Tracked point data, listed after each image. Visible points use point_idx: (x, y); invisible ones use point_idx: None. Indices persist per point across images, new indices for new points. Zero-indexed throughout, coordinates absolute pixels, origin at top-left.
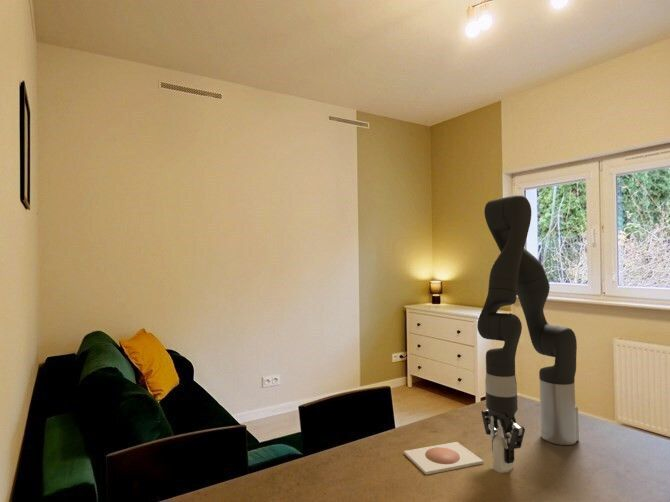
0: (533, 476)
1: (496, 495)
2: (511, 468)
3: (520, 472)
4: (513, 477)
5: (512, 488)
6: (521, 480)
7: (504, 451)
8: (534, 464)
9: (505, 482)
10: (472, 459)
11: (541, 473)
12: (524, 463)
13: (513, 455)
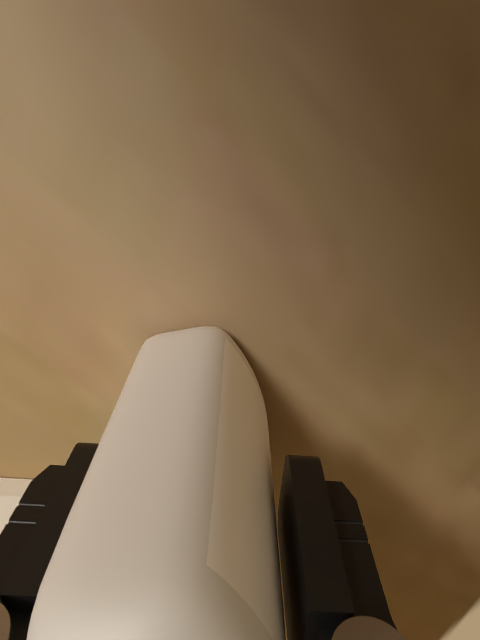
0: (429, 273)
1: (440, 629)
2: (256, 379)
3: (317, 325)
4: (347, 429)
5: (446, 525)
6: (413, 409)
7: (288, 637)
8: (259, 42)
9: (367, 515)
10: None
11: (440, 148)
12: (194, 144)
13: (364, 551)
